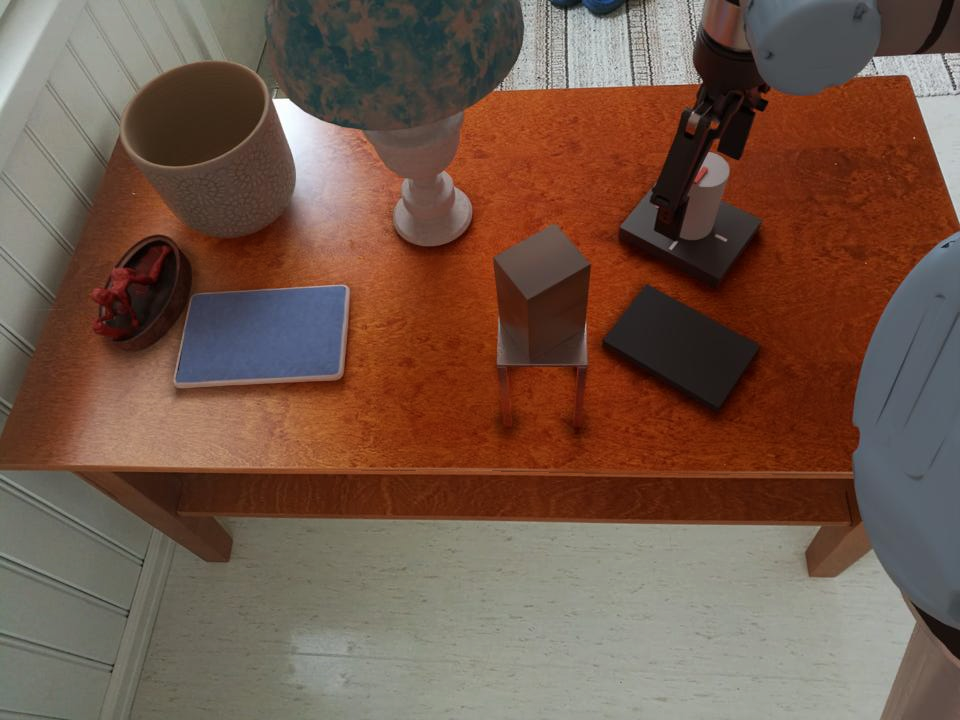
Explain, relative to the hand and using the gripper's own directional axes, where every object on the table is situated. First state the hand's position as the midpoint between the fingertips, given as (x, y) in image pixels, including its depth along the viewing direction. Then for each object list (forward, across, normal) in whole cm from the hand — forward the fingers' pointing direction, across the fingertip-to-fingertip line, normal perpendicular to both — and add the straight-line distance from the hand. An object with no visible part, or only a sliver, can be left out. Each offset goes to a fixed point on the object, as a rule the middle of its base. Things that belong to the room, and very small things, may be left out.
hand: (698, 193), depth 81 cm
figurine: (+7, +44, -47) cm, 65 cm away
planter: (+7, +27, -49) cm, 56 cm away
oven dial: (+5, 0, 0) cm, 5 cm away
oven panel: (+7, 0, 0) cm, 7 cm away
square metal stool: (+7, +27, -2) cm, 28 cm away
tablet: (+7, +40, -32) cm, 52 cm away
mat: (+7, +14, +7) cm, 17 cm away
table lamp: (+7, +15, -27) cm, 32 cm away
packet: (-7, +27, -2) cm, 28 cm away
